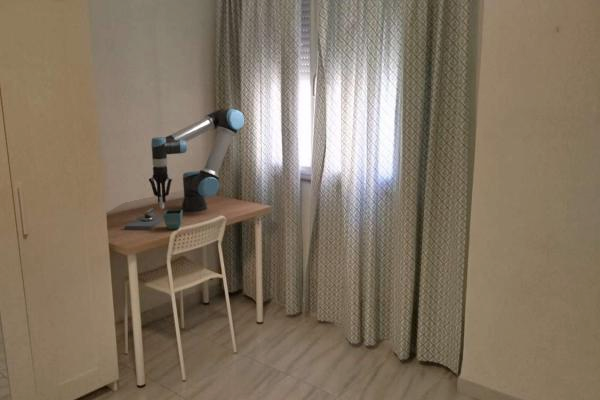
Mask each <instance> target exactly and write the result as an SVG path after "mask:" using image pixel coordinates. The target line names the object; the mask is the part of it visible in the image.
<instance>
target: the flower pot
mask: <svg viewBox="0 0 600 400" xmlns="http://www.w3.org/2000/svg"><path fill="white" fill-rule="evenodd" d="M163 220H164V224H165V225H166V228H167V229H168V230H178V229H177V228H180V227H181V225H182V221H183V210H182V209H173V210H172V209H166V210H165V212H163Z"/></svg>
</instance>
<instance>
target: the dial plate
mask: <svg viewBox="0 0 600 400" xmlns="http://www.w3.org/2000/svg"><path fill="white" fill-rule="evenodd" d="M142 217H145V216H144V215H138V216H137V217H135V218H133V219H132V220H131V221H130V222H128V223H126V224H125V225H124V230H127V231H130V230H132V231H133V230H134V231H135V230H136V231H140V230H141V231H152V230H153V229H154V228H156V227H157V226H158V225H159V224H161V223H162V222H163V220H164V215H163V216H157V215H154V216H153V220H151V221H142Z"/></svg>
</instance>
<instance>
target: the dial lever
mask: <svg viewBox="0 0 600 400" xmlns="http://www.w3.org/2000/svg"><path fill="white" fill-rule="evenodd" d="M143 216H145V217H142V221H151V220H153V216H155V208H149V209H148V210H146V211H145V213H144V215H143Z"/></svg>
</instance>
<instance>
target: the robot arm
mask: <svg viewBox="0 0 600 400" xmlns="http://www.w3.org/2000/svg"><path fill="white" fill-rule="evenodd" d="M244 125H245V118H244V115H243V112H241V111H240V110H237V109H234V108H230V109H229V108H220V109H217V110H215V111H213V112H210V113H208V114H207V115H205V116H204V117H203V118H202V119H200V120H199V121H195V122H193V123H192V124H190V125H188V126H186V127H184V128H182V129H179V130H178V131H176V132H174V133H172V134H170V135H167V136H165V137H164V136H163V137H161V136H157V137H155V136H154V137H152V138H151V156H152V157H151V158H152V159H151V161H152V177H150V178H148V181H149V183H150V185H151V189H152V192H153V195H154V196H155V197H157V202H158V203H159V209H161V210H162V209H165V203H166V202H167V201H166V197H168V196H169V194H170V188H171V185H172V182H173V180H174V179H173V178H171V177H170V176H169V175H168V166H167V165H168V158H167V157H168V155H176V154H177V155H178V154H180V155H181V154H185V153H186V152H187V150H188V145H187V142H188V141H191V140H193V139H195V138H197V137H198V136H200V135H203V134H205V133H207V132H208V131H214V130H217V129H218V131H217V135H216V137H215V139H214V142H213V145H212V148H211V150H210V151H209V152H210V153H209V155H208V157H207V159H206V162H205V165H204V167H203V168H201V169H199V170H196V171H195V170H193V171H186V172H183V173H182V181H183V183H182V185H183V186H182V187H183V200H182V202H181V203H182V204H181V210H183V211H184V212H202V211H205V210H207V209H208V204H207V201H206V199H205V197H209V198H210V197H212V196H215V194H217V192H218V191H219V189H220V184H219V178H220V176H219V172H220V169H221V167H222V163H224V162H223V161H224V159H225V156H226V153H227V151H228V149H229V146H230V144H231V141H232V138H233V137H234V136H236V135H237V133H238V131H239V130H241V129H242V128H243V127H244ZM166 182H167V184H166ZM155 183H156V184H155Z"/></svg>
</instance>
